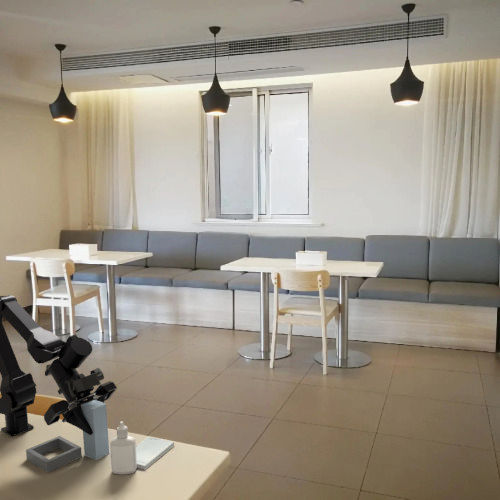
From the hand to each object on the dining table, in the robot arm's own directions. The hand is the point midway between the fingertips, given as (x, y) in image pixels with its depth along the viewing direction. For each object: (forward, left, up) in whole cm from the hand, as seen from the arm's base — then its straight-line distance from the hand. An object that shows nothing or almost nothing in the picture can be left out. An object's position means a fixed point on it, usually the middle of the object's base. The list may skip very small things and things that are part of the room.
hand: (98, 430), depth 128 cm
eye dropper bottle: (+11, -1, -7) cm, 13 cm away
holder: (-8, -8, -7) cm, 13 cm away
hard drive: (+9, +8, -7) cm, 14 cm away
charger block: (-1, 0, -7) cm, 7 cm away
